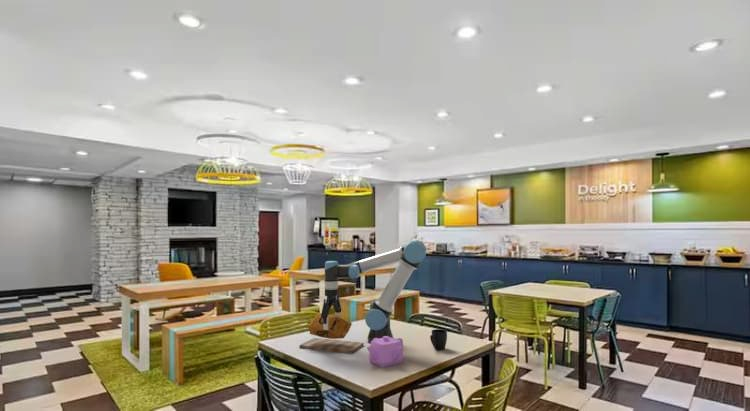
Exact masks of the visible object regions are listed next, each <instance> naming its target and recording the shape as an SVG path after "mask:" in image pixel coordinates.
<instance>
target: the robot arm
mask: <svg viewBox="0 0 750 411" xmlns="http://www.w3.org/2000/svg"><path fill="white" fill-rule="evenodd" d="M426 255H427V247H426V245H425V244H424V243H423V242H422V241H420V240H411V241H409V242H408V243H406V244H404V245H400V247H398V248H396V249H393V250H391V251H387V252H384V253H380V254H377V255H373V256H370V257H366V258H364V259H361V260H358V261H357V260H356V261H352V262H350V263H348V264H339V261H337V260H327V261H325V263H324V296H325V297H326V298H324V299H323V304H322V310H321V312H320V313H321V317H322V318H323V330H328V315H330V314H329V313H330V311H331V308H332V307H333V309H334V316H337V317H340V313H342V306H341V303H340V295H339V289H338V288H339V279H351V280H352V279H357V278H359V277H360V275H361V274H364V273H367V272H370V271H375V270H377V269H380V268H385V267H387V266H391V265H394V264H398V263H399V264H398V265H397V267H396V268H395V270H394V272H393V274H392V275H391V277H390V279H389V280H388V282H387V284H386V286H385V288H383V291H382V292H381V295H380V296H379V298H378V299H375V300H374V301H370V303H369V310H368V311H367V312H366V313H365V318H364V320H365V325H366V326H367V327H368V328H369V332H368V336H367V343H369V344H371V341H372V340H373V339H374V338H378V339H380V338H383V336H389V337H391V338H394V335H393V332H392V329H391V315H392V314H393V311H394V310H393V306H394V305H395V304H396V301H397V299H398V298H399V296H400V295H401V292H402V290H403V289H404V288H405V286H406V283H408V281H409V278H411V275H412V273H413V272H414V271H416V270H418V269H419V267H420V266H421V263H422V261H423V260H424V259H425V257H426Z"/></svg>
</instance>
